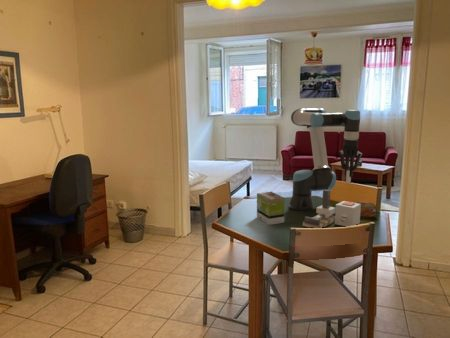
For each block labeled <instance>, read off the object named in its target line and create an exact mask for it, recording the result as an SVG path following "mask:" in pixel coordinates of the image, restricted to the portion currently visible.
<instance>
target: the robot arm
mask: <svg viewBox="0 0 450 338" xmlns="http://www.w3.org/2000/svg"><path fill="white" fill-rule="evenodd" d="M290 120H291V123H292V124H294V125H296V126H298V127H306V130H307V131H308V132H309V134H310V142H311V143H310V144H311V151H312V161H313V166H314V167H313V169H312V170H311V169H301V170H296V171H295V172H294V173H293V176H292V196H291V198H290V201H289V204H288V205H289V206H288V207H289V208H290V209H291V210H295V211H303V212H304V211H305V212H306V211H311V210H314V208H315V205H314V204H315V203H314V201H313V197H312V192H317V191H319V192H320V191H323V190H325V189H326V190H330V191H331V190H333V189H334V188H335V187H336V183H337V175H336V173H335V171H332V168H331V167H330V165H329V162H328V154H327V145H326V141H325V131H324V130H325V128H327V127H330V128H331V127H333V128H335V127H336V128H338V127H344V130H343V132H344V134H343V144H342V145H343V147H342V149H341V150H339V151H337V153H338V155H339V158H340V159H339V160H340V166H341V169H342V170H344V177H345V183H347V184H350V183H351V182H352V178H353V176H354V171H357V169H358V166H359V163H360V160H361V158H362V156H363V152H360V151H359V140H358V139H359V138H360V125H361V124H360V122H361V111H360V110H359V109H346V110H345V112H327V111H326V110H325V108H322V107H307V108H306V107H305V108H304V107H303V108H302V107H300V108H298V109H294V111H293V112H292V113H291V115H290ZM355 157H356V158H355Z"/></svg>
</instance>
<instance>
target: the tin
mask: <svg viewBox="0 0 450 338" xmlns="http://www.w3.org/2000/svg"><path fill="white" fill-rule="evenodd" d="M353 203H358V204H361V211H360V217H367V218H371V217H374V216H375V215H376V214H377V212H378V208H377V206H376V205H375V203H373V202H370V201H353Z"/></svg>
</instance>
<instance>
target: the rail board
mask: <svg viewBox="0 0 450 338" xmlns="http://www.w3.org/2000/svg"><path fill="white" fill-rule="evenodd" d="M333 223H335V213H334V214H332V216H330V217H328V218H325V215H324V214H321V215H319V213H317V215H315V216H313V217H311V216H304V221H302V227H306V228H310V227H314V228H322V227H324V228H325V227H327V226H329V225H331V224H333ZM314 228H313V229H314ZM322 229H323V228H322Z"/></svg>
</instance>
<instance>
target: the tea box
mask: <svg viewBox="0 0 450 338" xmlns="http://www.w3.org/2000/svg"><path fill="white" fill-rule="evenodd" d="M285 199H286V198H285V197H283V196H282V195H279V194H277V193H276V192H273V191H266V192H257V193H256V218H258V219H259V220H261V221H263V222H264V223H266V224H267V225H269V226H272V225H278V224H283V223H285V207H286V206H285V205H286V203H285V202H286V201H285Z"/></svg>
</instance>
